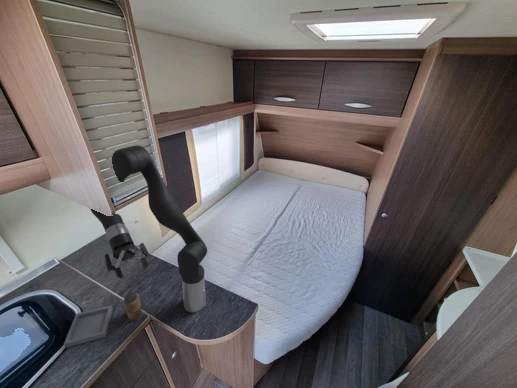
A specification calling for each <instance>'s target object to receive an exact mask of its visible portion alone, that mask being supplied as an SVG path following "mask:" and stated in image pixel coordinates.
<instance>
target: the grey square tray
mask: <svg viewBox="0 0 517 388" xmlns="http://www.w3.org/2000/svg"><path fill="white" fill-rule="evenodd" d="M112 313H113V305H108V306H107V305H106V306H104V307H97V308H95V309H91V310H87V311H82V312H78V313H75V315H74V318H73V320H72V323H71V325H70V328H69V330H68V333H67V334H66V338H65V340H64V342H63V347H64V348H65V349H68V348H71V347H72V348H73V347H77V346H79V345H82V344H86V343H89V342H94V341H97V340H100V339H105V338H106V337H107V334H108V329H109V326H110V322H111V318H112Z"/></svg>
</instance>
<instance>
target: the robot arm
mask: <svg viewBox="0 0 517 388" xmlns="http://www.w3.org/2000/svg"><path fill="white" fill-rule="evenodd" d="M112 155H113V156H112ZM112 155H111V158H112V164H113V169H114V171H115V174H116V176H117V178H118V180H119V181H120V182H125V180H126V179H127V178H128V177H130V175H135V174H137V173H141V175H142V176H143V178H144V179H145V182H146V186H147V194H148V195H147V199H148V207H149V209H150V211H151V213H152V214H153V216H154V217H155V219H156V220H157V221H158V223H159V224H160V225H162V226H163V227H164V228H167V229H169V230H171V231H173V232H175V233H177V234H178V235H179V237H180V238H181V239H182V240H183V242H184V243H185V245H184V246H183V247H182V249H180V251H178V253H177V260H176V261H177V266H178V272H179V275H180V276H181V282H182V284H181V286H182V297H183V308H184V310H185V311H186V312H187V313H191V314H192V313H193V314H194V313H197V312H199V311H200V310H202V309H203V308H204V307H206V305H207V303H206V296H207V295H206V287H205V283H206V282H205V268H204V266H202V265H201V263H202V261H203V260H204V259H205V257H206V256H207V254H208V247H207V245H206V244H205V242H204V241H203V239H202V238H201V236H200V235H199V234H198V233H197V232H196V230H195V229H194V228H193V227H192V224H190V222H189V219H187V217H186V215H185V214H184V212H183V211H182V209H181V207H180V205H179V203H178V202H177V201H176V199H175V198H174V196H173V195H172V193H171V192H170V190H169V188H168V187H167V184H166V183H165V181H164V179H163V178H162V176H161V174H160V172H159V170H158V167H157V166H156V164H155V161H154V159H153V158H152V156H151V154H150V153H149V151H148V150H147V149H146V148H145V147H144V146H142V145H138V144H137V145H130V146H128V147H123V148H120V149H117V150H115V151H114V152H113V154H112ZM89 209H90V208H89ZM90 211H91V213H92V214H93V215H94V216H95V218H97V219H98V221H99V222H100V223H101V225H102V227H103V228H104V231H105V236H106V240H107V242H108V244H109V246H110V249H111V251H112V253H110V254H109V253H107V254H106V253H105V255H104V257H103V259H104V263H105V266H106V270H107V271H108V272H111V271H114V272H115V275H116V277H117V278H118V279H120V280H121V279H123V278H124V274H123V272H122V269H121V267H120V265H121V262H126V261H128V260H132V259H133V258H134V259H138V260H139V261H140V263H141V265H142V267H143V269H144V270H146V269H147V267H148V265H149V264H148V261H147V259H146V258H148V256H149V254H150V252H149V251H148V249H147V247H146V245H145V244H144V243H143V242H141V243H140V244H138V245H135V242H134V240H133V238H132V236H131V234H130V232H129V229H128V227H126V224H125V222H124V220H123V218H122V216H121V215H120V214H119V213H113V214H114V215H113V216H106V215H104V214H102V213H100V212H97V211H95V210H93V209H90ZM137 250H139V251H137ZM113 258H114V259H116V260H117V261H116V262H115V265H113V264H112V259H113Z"/></svg>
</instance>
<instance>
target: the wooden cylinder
mask: <svg viewBox="0 0 517 388" xmlns="http://www.w3.org/2000/svg"><path fill="white" fill-rule="evenodd" d="M123 302H124V303H123V304H124V307H125V310H126V312H125V313H126V316H127V318H128V320H129V321H132V322H133V321H137V320H139V319H140V318H141V317H142V315H143V310H142V305H141V300H140V295H139V293H137V292H134V291H133V292H129V293H128V294H126V295H125V297H124V299H123Z"/></svg>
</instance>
